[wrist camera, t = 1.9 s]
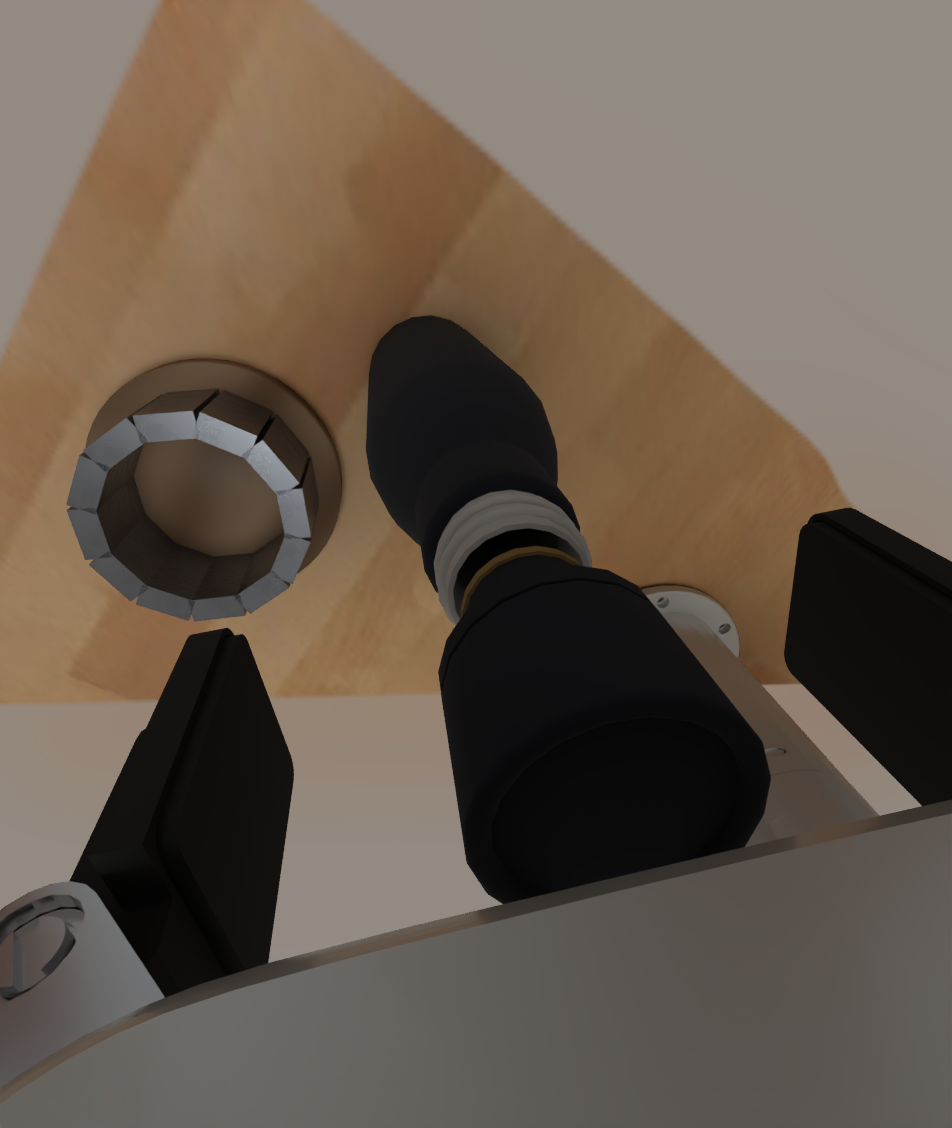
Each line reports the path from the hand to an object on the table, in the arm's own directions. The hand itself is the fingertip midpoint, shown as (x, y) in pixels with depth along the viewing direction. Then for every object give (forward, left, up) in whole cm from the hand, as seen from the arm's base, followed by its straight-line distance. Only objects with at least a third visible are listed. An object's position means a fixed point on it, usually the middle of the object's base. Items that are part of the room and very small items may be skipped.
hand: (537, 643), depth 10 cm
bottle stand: (+8, +10, -27) cm, 29 cm away
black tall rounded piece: (0, 0, -27) cm, 27 cm away
